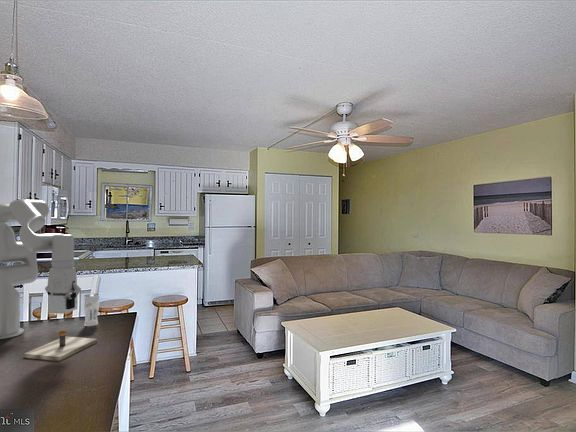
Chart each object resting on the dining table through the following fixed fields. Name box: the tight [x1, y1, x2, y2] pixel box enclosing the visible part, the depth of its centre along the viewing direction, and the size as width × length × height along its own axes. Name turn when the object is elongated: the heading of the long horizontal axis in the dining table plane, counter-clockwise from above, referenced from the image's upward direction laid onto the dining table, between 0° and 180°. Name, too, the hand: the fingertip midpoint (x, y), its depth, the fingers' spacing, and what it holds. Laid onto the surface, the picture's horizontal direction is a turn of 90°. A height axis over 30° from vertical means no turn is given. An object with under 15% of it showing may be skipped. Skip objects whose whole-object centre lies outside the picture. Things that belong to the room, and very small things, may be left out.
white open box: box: [47, 293, 78, 315], centre depth 136 cm, size 7×7×7 cm
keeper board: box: [23, 329, 98, 362], centre depth 136 cm, size 16×19×8 cm
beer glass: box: [82, 293, 100, 328], centre depth 168 cm, size 7×7×15 cm
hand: (62, 307), depth 136 cm, fingers closed on white open box, 7 cm apart
